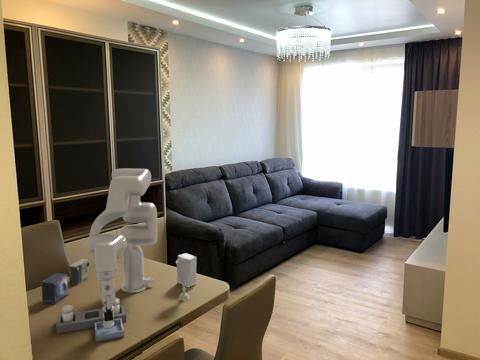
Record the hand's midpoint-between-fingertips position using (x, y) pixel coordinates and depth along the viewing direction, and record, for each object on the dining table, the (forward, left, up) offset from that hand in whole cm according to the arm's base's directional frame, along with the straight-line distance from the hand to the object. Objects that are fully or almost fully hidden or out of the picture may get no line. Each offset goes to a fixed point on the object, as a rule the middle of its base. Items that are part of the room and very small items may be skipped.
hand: (108, 317), depth 155 cm
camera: (+11, -56, -7) cm, 58 cm away
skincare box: (-39, -33, -7) cm, 52 cm away
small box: (+21, -38, -7) cm, 44 cm away
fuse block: (+6, -11, -6) cm, 14 cm away
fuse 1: (+15, -11, -6) cm, 20 cm away
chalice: (-34, -18, -7) cm, 39 cm away
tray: (0, 0, -6) cm, 6 cm away
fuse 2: (-3, -11, -6) cm, 13 cm away
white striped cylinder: (0, 0, -4) cm, 4 cm away
